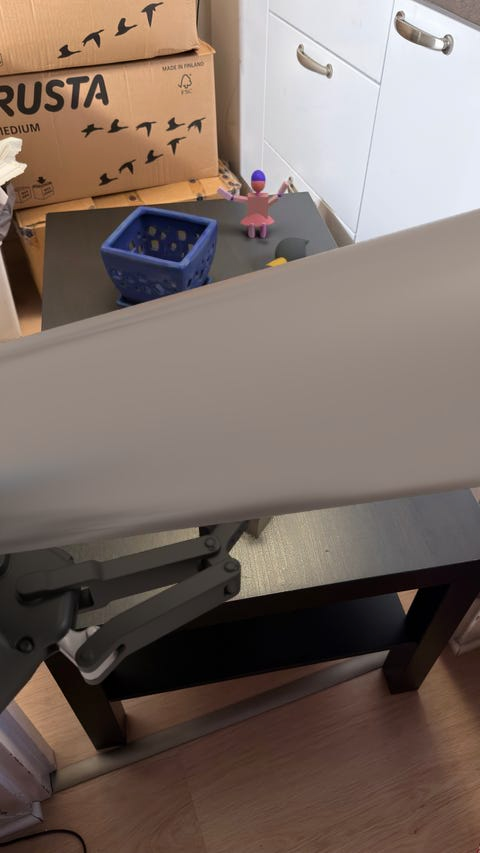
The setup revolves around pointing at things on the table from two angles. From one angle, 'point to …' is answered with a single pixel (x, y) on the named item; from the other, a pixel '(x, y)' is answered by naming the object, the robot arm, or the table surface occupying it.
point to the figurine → (256, 203)
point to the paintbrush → (288, 251)
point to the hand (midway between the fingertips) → (177, 423)
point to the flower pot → (159, 255)
